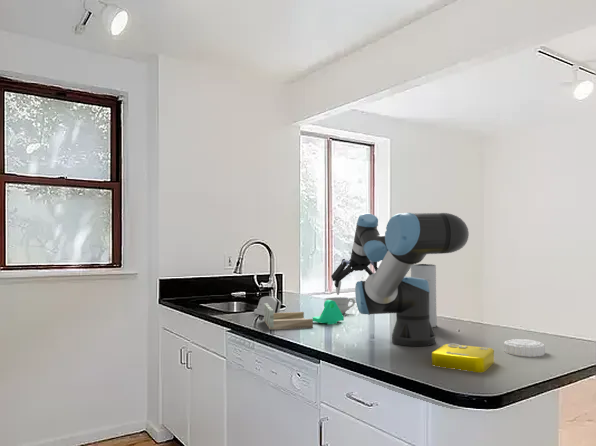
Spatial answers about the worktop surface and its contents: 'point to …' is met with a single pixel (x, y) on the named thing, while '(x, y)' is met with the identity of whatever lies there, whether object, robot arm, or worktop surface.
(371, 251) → the robot arm
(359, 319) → the worktop surface
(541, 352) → the mooncake
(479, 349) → the element tile
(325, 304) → the camera mount
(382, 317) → the worktop surface
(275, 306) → the grey rounded piece
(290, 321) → the dock
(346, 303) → the teacup
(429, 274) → the speaker
